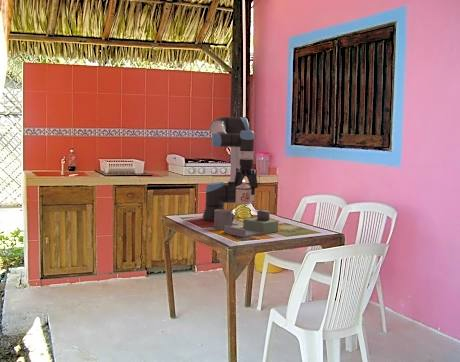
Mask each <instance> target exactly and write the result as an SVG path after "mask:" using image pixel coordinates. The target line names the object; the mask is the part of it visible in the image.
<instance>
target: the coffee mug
mask: <svg viewBox="0 0 460 362" xmlns="http://www.w3.org/2000/svg"><path fill="white" fill-rule="evenodd" d="M234 220H235V213H233V212H232V210H231V209H227V208H226V209H225V208H224V209H217V210H214V221H213V228H215V229H217V230H224V225H227V226H231V227H232V223H233V222H234Z"/></svg>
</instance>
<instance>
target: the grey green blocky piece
mask: <svg viewBox="0 0 460 362" xmlns="http://www.w3.org/2000/svg"><path fill="white" fill-rule="evenodd" d="M256 212H257V213H256V214H257V215H256V217H249V218H243V220H242V221H243V224H242V226H243V227H240V228H239V227H235V226H232V225H231V226H227V225H224V229H223V233H225V234H229V235H233V236H237V237H241V238H248V237H253V236H259V235H266V234H271V233H277V232H279V220H275V219H270V210H268V209H260V210H257V211H256Z"/></svg>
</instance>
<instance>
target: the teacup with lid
mask: <svg viewBox="0 0 460 362" xmlns="http://www.w3.org/2000/svg"><path fill="white" fill-rule="evenodd" d="M250 188H251V187H250V184H247V181H246V182H242V184H241V185H239V186H236V203H235V204H237V205H251V204H252V201H249V194H250ZM255 196H256V193H255V194H254V197H255Z"/></svg>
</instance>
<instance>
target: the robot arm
mask: <svg viewBox="0 0 460 362" xmlns="http://www.w3.org/2000/svg"><path fill="white" fill-rule="evenodd" d="M209 130H210V131H209V132H210V133H211V146H212V147H217V148H221V147H222V148H230V162H229V163H230V171H229V172H230V177H229V178H230V179H229V180H228V181H227V184H226V183H225V182H224V181H217V182H210V183H207V185H206V186H205V207H204V210H203V214H202V221H206V222H214V210H217V209H225V204H237V203H236V186H239V185H241V184H242V182H246V183H247V181H246V180H245V177H246V178H247V180H248V185H249V186H250V187H251V188H250V194H249V201H251V202H252V201H255V196H254V194H255V195H256V190H255V189H258V187H259V184H258V178H257V169H253V166H254V149H255V147H254V146H255V145H254V144H255V132H254V131H253V130H250V124H249V121H248V118H246V117H241V116H221V117H220V116H219V117H217V118H216V119H214V120H213V121H211V123H210V125H209Z"/></svg>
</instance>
